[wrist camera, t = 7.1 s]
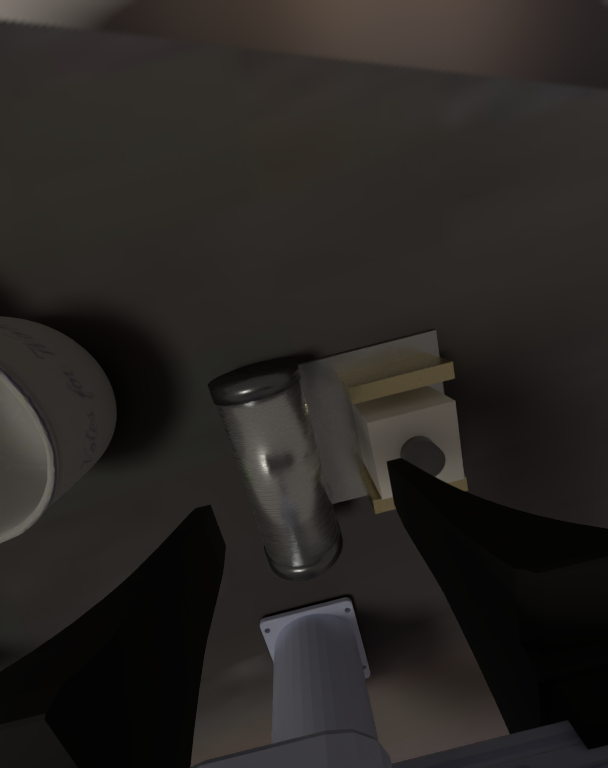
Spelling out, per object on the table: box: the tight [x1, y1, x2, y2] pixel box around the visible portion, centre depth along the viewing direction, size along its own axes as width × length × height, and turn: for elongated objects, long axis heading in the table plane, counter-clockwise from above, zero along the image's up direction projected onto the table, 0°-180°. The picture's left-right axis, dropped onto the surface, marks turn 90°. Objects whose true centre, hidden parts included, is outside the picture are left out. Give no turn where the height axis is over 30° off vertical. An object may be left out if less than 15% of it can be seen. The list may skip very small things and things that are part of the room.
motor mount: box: [208, 329, 468, 581], centre depth 19 cm, size 13×15×6 cm
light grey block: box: [351, 386, 464, 500], centre depth 19 cm, size 5×5×6 cm
